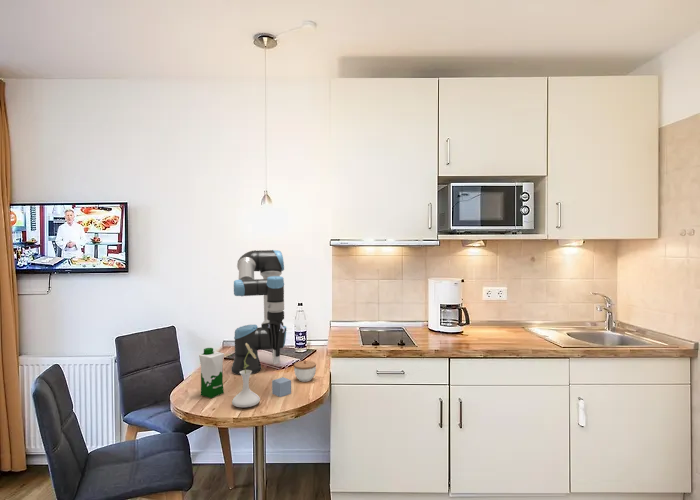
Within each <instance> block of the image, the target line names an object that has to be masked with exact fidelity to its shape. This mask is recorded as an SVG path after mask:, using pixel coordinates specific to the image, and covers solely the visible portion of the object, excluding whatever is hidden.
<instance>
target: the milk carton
mask: <svg viewBox="0 0 700 500" xmlns="http://www.w3.org/2000/svg"><path fill="white" fill-rule="evenodd" d="M224 357H225V353H223V352H220V351H214V348H213V347H206V348H203V353H200V354H198V358H199V364H200V396H202V397H205V398H209V399H212V398H216V397H218V396H220V395H224V393H225V392H224V391H225V390H224V382H223V381H224V379H223V378H224V377H223V362H224Z"/></svg>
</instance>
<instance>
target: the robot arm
mask: <svg viewBox="0 0 700 500" xmlns="http://www.w3.org/2000/svg"><path fill="white" fill-rule="evenodd" d="M236 267H237V270H238V279H235V280H234V281H233V295H234V296H235V297H251V296H252V297H253V296H263V322H261V327H259V326H258V325H257V324H247V325H242V326H239V327H237V328H236V329H234V330H235V331H234V337H233V339H234V358H233V362H232V365H231V369H230V370H231V374H233V375H239V376H242V375H241V374H240V373H239V372H240V371H242V370H245V368H244V367H245V366H246V365H245V366H244V361H245V362H246V364H247V365H249V366H248V367H246V370H251V371H252V372H251V374H250V375H253V374H257V373H259V372H260V371H262V364H261V360H260V358H259V355H258V354H259V353H258V351H263V350H272V352H271V353H272V364H273V365H277V364H280V363H281V362H280V361H281V360H280V357H281V349H283V348H284V347H285V344H286V339H287V326H286V325H284V322H283V320H285V282H284V281H285V279H284V276H281V275H282V274H283V273H282V272H284V270H285V262H284V256H283V253H282V251H281V250H276V249H272V250H271V249H269V250H268V249H267V250H261V249H260V250H250V251H248V252H247V251H246V252H245V253H244V254H242V255H241V256H240V257H239V259H238V260H237V265H236ZM255 272H260V276H261V277H262V278H261V279H257V278H256V279H255ZM246 343H247V344H248V345H249V347H250V349H252V352H253V353H254V354H255V355H256V359H254V358H253V356H252V355H251V354H250V353H248V349H247V347H246V345H245V344H246ZM247 353H248V355H247ZM246 355H247V357H246ZM245 358H246V360H245Z"/></svg>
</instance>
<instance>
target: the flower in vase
mask: <svg viewBox="0 0 700 500" xmlns="http://www.w3.org/2000/svg"><path fill="white" fill-rule="evenodd" d="M245 345H246V347H247V349H248V353H250V354H251V355H252V356H253V358H254V359H256V355H255V354H254V353H253V352H252V349H250V347H249V345H248V344H247V343H246V344H245ZM248 353H247V355H248ZM247 355H246V357H247ZM245 360H246V358H245ZM245 365H246V366H245ZM244 366H245V367H244V368H245V370H242V371H240V372H239V373H240V374H241V375H240V376H241V377H242V378H241V379H242V389H241V391H240V392H238V393H237V394H236V395H235V396H234V397H233V399H232V401H231V404H232V406H234V407H237V408H251V407H254V406H256V405H258V404H259V402H260V401H261V398H260V396H259V395H258V394H257V393H255V392H254V391H253V390H251V389H250V385H249V383H250V382H249V380H250V376H251V375H252V374H251V372H252V371H251V370H246V367H248V366H249V365H247V364H246V362H245V361H244Z"/></svg>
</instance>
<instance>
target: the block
mask: <svg viewBox="0 0 700 500" xmlns="http://www.w3.org/2000/svg"><path fill="white" fill-rule="evenodd" d="M271 394H272V395H274V396H277V397H280V398H282V397H285V396H288V395H291V394H292V380H291V379H289V378H286V377H284V376H281V377H279V378H275V379H272V380H271Z"/></svg>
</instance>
